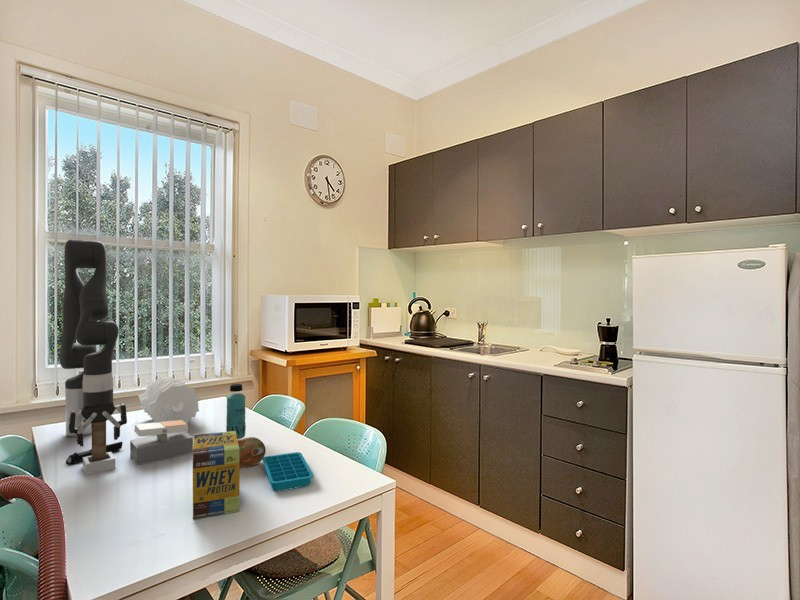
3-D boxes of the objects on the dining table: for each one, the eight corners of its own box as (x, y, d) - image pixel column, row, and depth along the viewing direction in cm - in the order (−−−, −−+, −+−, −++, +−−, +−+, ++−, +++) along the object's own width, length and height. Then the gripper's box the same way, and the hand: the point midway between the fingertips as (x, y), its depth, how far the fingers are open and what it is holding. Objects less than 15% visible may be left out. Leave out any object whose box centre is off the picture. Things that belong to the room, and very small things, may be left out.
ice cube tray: (270, 495, 118) (270, 483, 118) (261, 466, 136) (261, 456, 136) (314, 487, 122) (314, 476, 122) (300, 461, 141) (300, 451, 141)
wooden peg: (90, 466, 134) (90, 420, 133) (105, 463, 136) (105, 418, 135) (92, 471, 131) (92, 424, 130) (107, 467, 134) (107, 421, 133)
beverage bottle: (221, 442, 156) (221, 385, 155) (235, 436, 162) (235, 381, 162) (236, 445, 153) (236, 387, 153) (250, 439, 160) (249, 383, 159)
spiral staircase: (172, 423, 190) (191, 435, 171) (129, 412, 180) (143, 423, 161) (191, 382, 196) (211, 389, 177) (150, 369, 185) (166, 375, 166)
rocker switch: (134, 430, 143) (134, 423, 143) (181, 426, 152) (181, 419, 152) (139, 436, 137) (140, 429, 137) (188, 431, 146) (188, 424, 146)
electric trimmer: (124, 451, 148) (125, 442, 148) (70, 466, 135) (70, 455, 135) (119, 449, 150) (119, 440, 150) (65, 463, 137) (65, 453, 137)
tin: (212, 473, 130) (212, 444, 130) (211, 469, 133) (211, 441, 133) (265, 464, 137) (265, 437, 137) (263, 460, 140) (263, 434, 140)
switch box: (130, 455, 143) (130, 434, 143) (183, 444, 154) (183, 424, 154) (137, 465, 136) (136, 442, 136) (192, 452, 146) (192, 431, 146)
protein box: (192, 520, 104) (192, 454, 104) (194, 492, 118) (193, 434, 118) (240, 511, 108) (240, 448, 108) (236, 485, 122) (236, 429, 122)
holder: (82, 467, 134) (82, 457, 134) (111, 461, 139) (111, 451, 139) (86, 474, 129) (86, 464, 128) (115, 468, 133) (115, 458, 133)
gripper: (123, 383, 141) (124, 434, 141) (67, 389, 131) (67, 444, 132) (128, 387, 135) (128, 440, 135) (69, 394, 125) (70, 451, 126)
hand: (98, 442), depth 133 cm, fingers open, 8 cm apart
